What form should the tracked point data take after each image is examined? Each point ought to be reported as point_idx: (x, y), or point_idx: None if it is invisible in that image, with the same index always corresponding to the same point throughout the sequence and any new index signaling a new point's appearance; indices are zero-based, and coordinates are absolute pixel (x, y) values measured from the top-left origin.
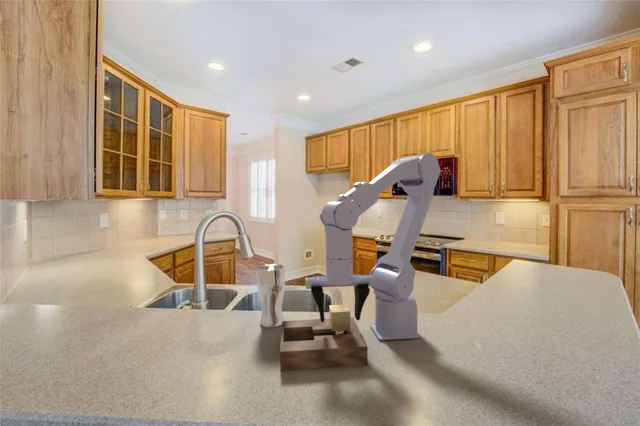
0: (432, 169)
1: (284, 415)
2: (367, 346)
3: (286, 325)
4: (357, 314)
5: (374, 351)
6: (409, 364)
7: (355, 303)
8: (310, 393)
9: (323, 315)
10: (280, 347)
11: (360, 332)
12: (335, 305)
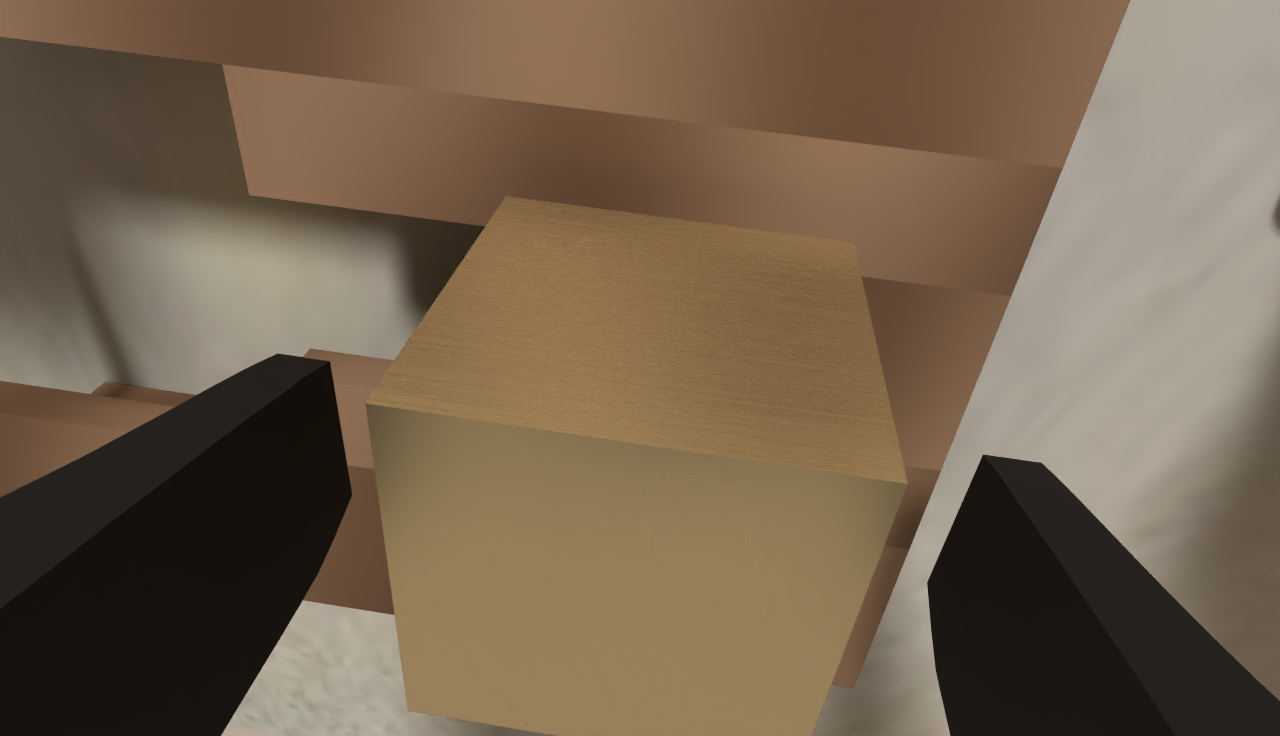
0: None
1: (259, 714)
2: (852, 686)
3: None
4: (950, 708)
5: (1039, 380)
6: (1193, 612)
7: (1096, 721)
8: (372, 647)
9: (278, 615)
10: None
11: (948, 447)
12: (547, 458)
